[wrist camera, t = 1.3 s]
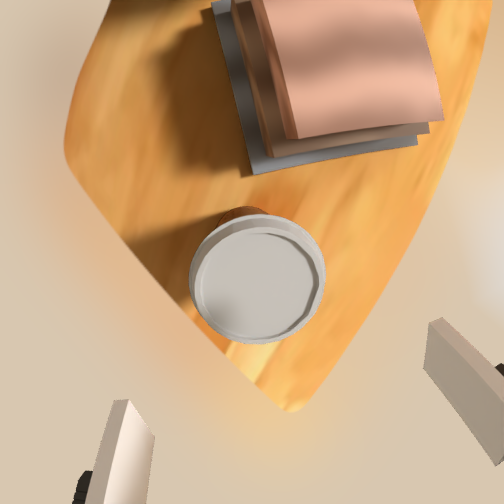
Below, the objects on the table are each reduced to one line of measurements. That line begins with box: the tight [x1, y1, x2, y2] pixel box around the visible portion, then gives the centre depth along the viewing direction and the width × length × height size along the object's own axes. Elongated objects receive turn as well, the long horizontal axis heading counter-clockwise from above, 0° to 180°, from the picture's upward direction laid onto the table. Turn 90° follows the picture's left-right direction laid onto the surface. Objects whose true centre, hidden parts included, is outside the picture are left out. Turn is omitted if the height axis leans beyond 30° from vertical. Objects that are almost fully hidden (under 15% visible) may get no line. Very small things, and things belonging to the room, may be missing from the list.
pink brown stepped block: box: [211, 0, 444, 175], centre depth 22 cm, size 18×18×10 cm
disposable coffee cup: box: [189, 206, 326, 344], centre depth 26 cm, size 10×10×12 cm
